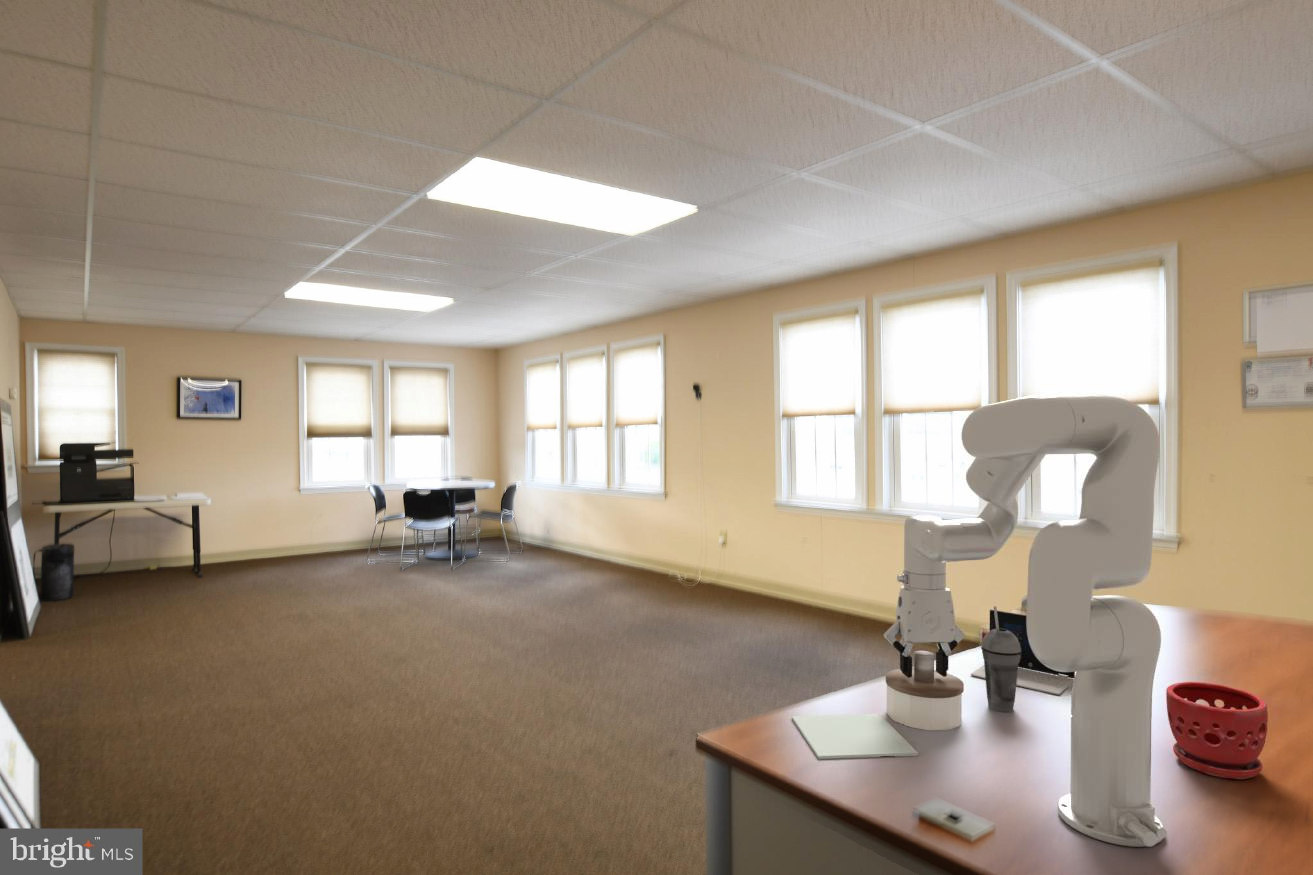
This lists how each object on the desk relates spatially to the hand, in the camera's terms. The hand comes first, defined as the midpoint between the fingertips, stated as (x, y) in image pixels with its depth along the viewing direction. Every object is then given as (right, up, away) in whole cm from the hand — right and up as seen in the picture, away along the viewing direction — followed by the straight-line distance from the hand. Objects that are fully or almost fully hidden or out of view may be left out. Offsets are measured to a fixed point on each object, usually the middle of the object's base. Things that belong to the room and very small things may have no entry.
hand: (924, 673), depth 141 cm
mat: (-16, -8, -9) cm, 20 cm away
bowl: (0, -8, 0) cm, 8 cm away
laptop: (+29, -8, +22) cm, 38 cm away
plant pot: (+40, -9, -21) cm, 46 cm away
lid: (0, -2, 0) cm, 2 cm away
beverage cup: (+17, -8, +4) cm, 19 cm away
